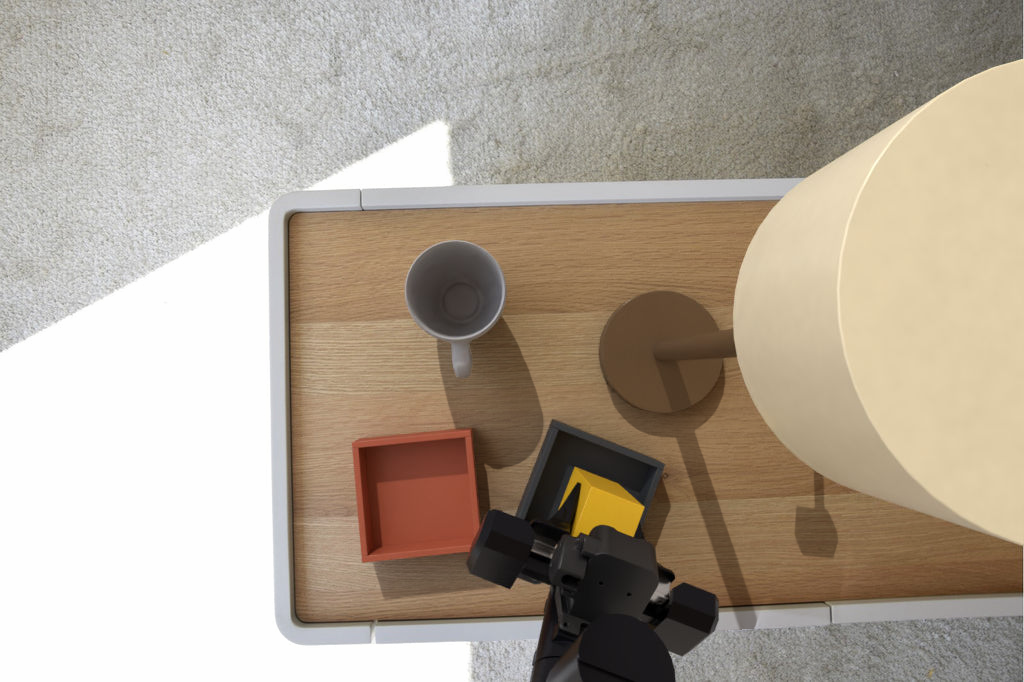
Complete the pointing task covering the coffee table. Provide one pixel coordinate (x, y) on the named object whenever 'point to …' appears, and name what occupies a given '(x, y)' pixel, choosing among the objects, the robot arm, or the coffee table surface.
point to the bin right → (593, 456)
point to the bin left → (416, 494)
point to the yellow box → (602, 505)
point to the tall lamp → (876, 315)
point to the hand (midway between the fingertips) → (604, 495)
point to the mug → (456, 296)
